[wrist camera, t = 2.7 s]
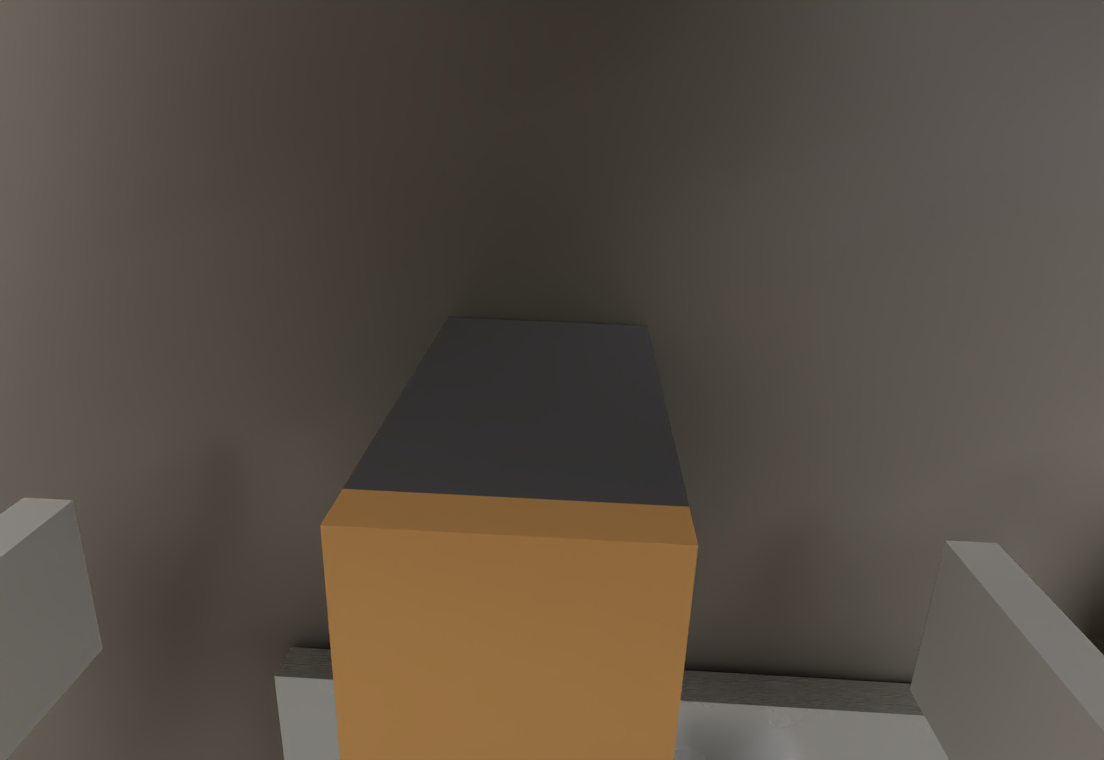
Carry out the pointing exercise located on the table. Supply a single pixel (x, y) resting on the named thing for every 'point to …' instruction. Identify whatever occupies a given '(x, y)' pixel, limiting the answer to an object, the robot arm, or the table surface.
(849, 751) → the socket plate
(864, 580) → the table surface
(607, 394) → the plug
